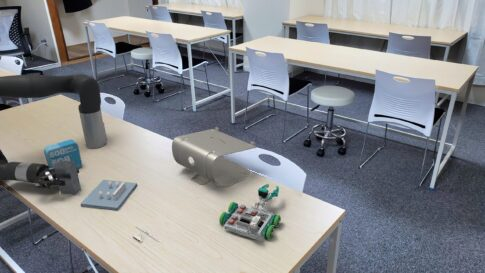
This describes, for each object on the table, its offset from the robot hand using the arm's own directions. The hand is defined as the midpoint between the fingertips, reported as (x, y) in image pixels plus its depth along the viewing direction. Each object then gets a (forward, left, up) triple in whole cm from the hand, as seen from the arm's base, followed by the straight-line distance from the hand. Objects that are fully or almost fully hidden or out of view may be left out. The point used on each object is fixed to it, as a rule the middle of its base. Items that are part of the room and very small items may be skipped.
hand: (71, 176), depth 138 cm
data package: (-14, -13, -7) cm, 20 cm away
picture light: (+19, +35, -7) cm, 41 cm away
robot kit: (+3, +69, -7) cm, 69 cm away
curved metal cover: (-23, +48, -7) cm, 54 cm away
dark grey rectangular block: (0, -2, -7) cm, 7 cm away
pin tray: (0, +14, -7) cm, 16 cm away
